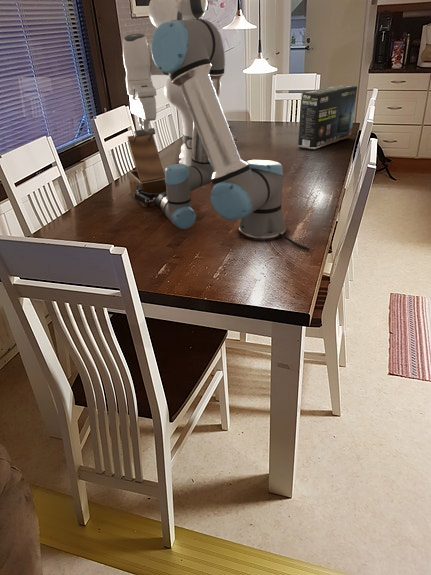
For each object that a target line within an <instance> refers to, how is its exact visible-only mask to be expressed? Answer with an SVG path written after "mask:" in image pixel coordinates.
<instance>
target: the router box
mask: <svg viewBox="0 0 431 575" xmlns="http://www.w3.org/2000/svg"><path fill="white" fill-rule="evenodd" d="M357 93H358V86H356V85H350V84H339V85H338V84H337V85H334V86H328V87H324V88H318V89H314V90H309V91H304V92H301V93H300V109H299V110H300V111H299V124H298V137H297V146H298V145H302V146H307V147H317V146H320V145H323V144H325V143H328V142H331V141H333V140H336V139H338V138H341V137H344V136H347V135H351V136H352V133H353V132H352V131H353V125H354V115H355V109H356V99H357ZM311 151H313V150H312V149H311Z"/></svg>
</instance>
